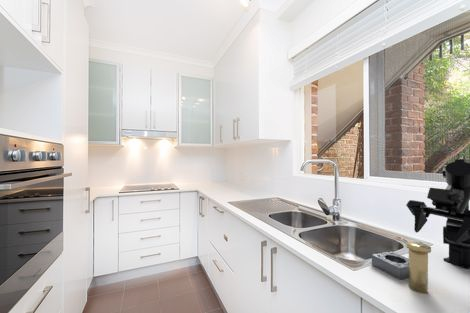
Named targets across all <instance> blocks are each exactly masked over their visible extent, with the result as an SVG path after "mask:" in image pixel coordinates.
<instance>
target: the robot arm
mask: <svg viewBox="0 0 470 313" xmlns="http://www.w3.org/2000/svg"><path fill="white" fill-rule="evenodd" d="M442 178H444V179H445V182H446V184H447V186H446V187H445V188H438V187H437V188H436V187H429V189H428V193H427V199H429V200H431V205H432V206H434V207H430V206H427V204H426V203H425V202H424V201H421V200H420V201H419V200H413V199H410V200H408V201H407V203H406V204H405V205H406V207H407V208H408V210H409V211H410V213H411V214H412V216H414V232H415V233H419V232H420V231H421V230H422V228H423V227H424V225H425V224H426V223H427V222H428V218H429V216H430V215H433V216H438V217H443V218H446V221H445V225H443V227H442V238H443V239H442V240H443V244H444V245H445V244H446V245H448V257H444V258H443V261H445V262H448V263H451V264H453V265H456V266H458V267H461V268H464V269H470V162H469V161H465V159H463V158H458V159H454V161H452V162H449V163H448V164H446V165H445V166H444V167H443V168H442Z"/></svg>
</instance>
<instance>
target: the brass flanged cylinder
mask: <svg viewBox="0 0 470 313" xmlns="http://www.w3.org/2000/svg"><path fill="white" fill-rule="evenodd" d="M405 247H406V248H407V249H408V259H409V278H408V287H409V289H411V290H413V291H414V292H417V293H420V294H427V293H428V292H429V254H430V253H431V252H432V247H431V246H429V245H428V244H426V243H422V242H419V241H413V240H411V241H410V240H409V241H406V243H405Z"/></svg>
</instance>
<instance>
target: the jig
mask: <svg viewBox="0 0 470 313" xmlns="http://www.w3.org/2000/svg"><path fill="white" fill-rule="evenodd" d="M371 266H373V267H375V268H376V269H378V270H381V271H382V272H384V273H387V275H390V276H392V277H393V278H396V279H397V280H399V281H401V280H405V279H409V257H405V256H403V255H401V254H399V253H396V252H394V251H392V250H391V251H386V252H380V253H379V252H378V253H373V254H371Z"/></svg>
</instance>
